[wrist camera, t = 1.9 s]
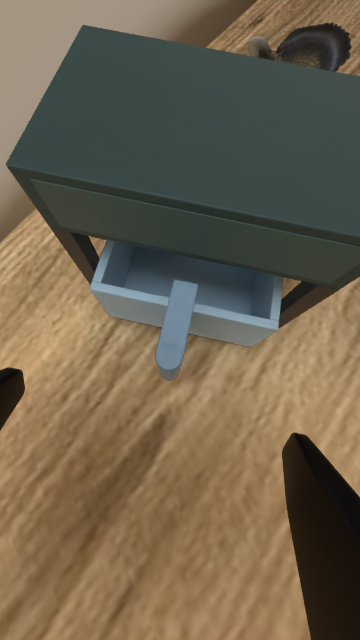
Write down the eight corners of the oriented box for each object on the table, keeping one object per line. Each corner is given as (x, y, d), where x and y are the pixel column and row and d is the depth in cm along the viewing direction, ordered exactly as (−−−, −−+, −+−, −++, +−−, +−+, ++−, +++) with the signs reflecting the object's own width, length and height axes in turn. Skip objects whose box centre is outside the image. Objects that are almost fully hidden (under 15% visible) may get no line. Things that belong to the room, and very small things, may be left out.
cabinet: (276, 331, 22) (408, 248, 10) (94, 291, 22) (3, 165, 10) (286, 237, 24) (397, 82, 12) (124, 203, 25) (82, 23, 13)
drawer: (244, 400, 19) (307, 402, 10) (93, 365, 20) (28, 338, 11) (264, 244, 24) (323, 148, 15) (140, 218, 24) (121, 109, 15)
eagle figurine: (277, 126, 27) (352, 85, 27) (269, 32, 22) (360, -20, 22) (242, 124, 33) (303, 89, 32) (229, 48, 28) (301, 7, 28)
